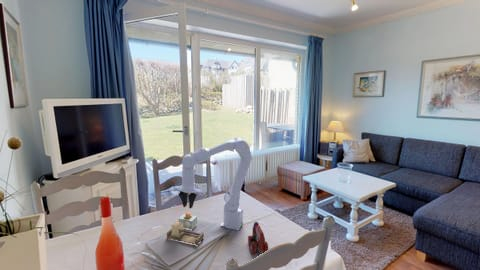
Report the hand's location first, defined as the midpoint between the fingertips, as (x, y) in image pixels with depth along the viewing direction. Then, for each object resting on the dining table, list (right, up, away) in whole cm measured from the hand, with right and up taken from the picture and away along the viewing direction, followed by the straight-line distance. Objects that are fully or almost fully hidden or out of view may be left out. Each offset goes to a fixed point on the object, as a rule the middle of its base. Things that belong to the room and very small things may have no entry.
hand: (188, 206), depth 111 cm
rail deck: (+1, -12, -8) cm, 14 cm away
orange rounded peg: (0, -6, +1) cm, 6 cm away
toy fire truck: (+32, -14, -12) cm, 37 cm away
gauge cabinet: (0, -10, +2) cm, 10 cm away
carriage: (-3, -10, -8) cm, 13 cm away
